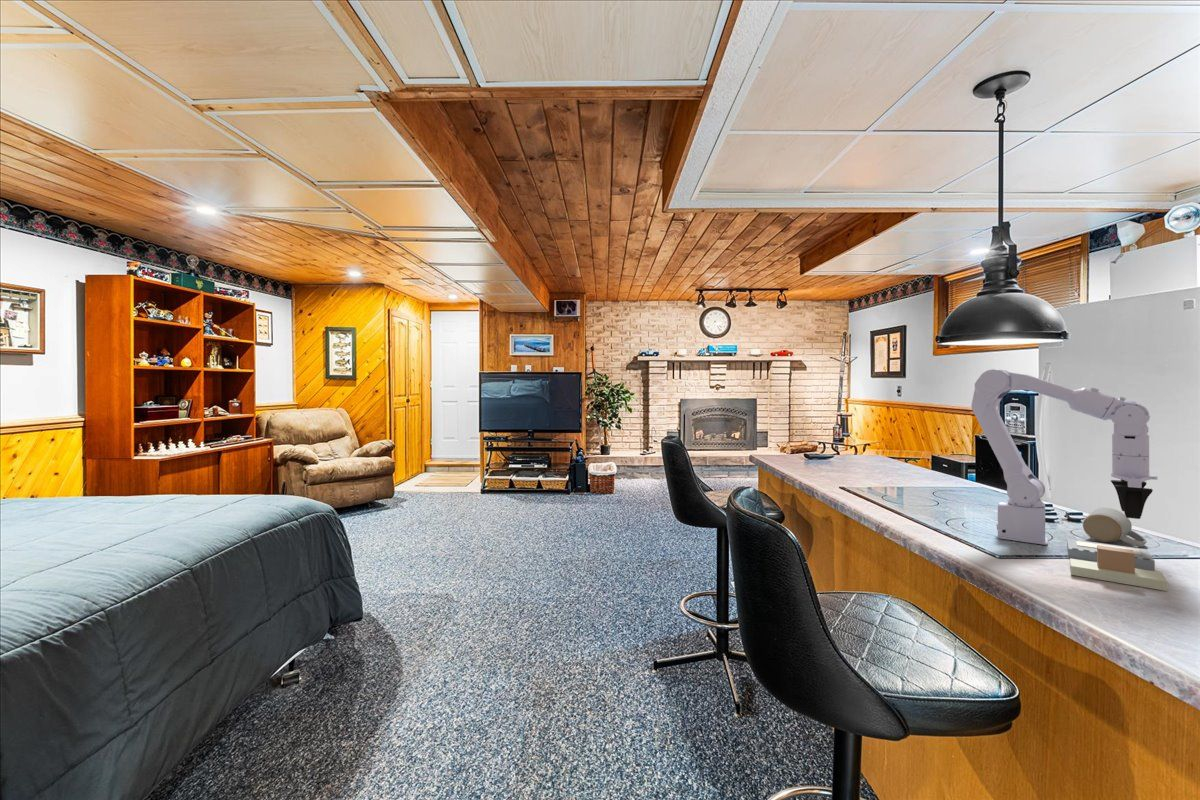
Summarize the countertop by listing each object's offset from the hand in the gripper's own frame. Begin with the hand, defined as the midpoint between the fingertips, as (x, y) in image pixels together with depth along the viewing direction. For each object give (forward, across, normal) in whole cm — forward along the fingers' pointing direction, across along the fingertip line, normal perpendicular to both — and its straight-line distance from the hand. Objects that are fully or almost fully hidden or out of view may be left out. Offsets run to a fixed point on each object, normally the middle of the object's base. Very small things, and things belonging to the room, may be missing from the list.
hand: (1130, 514), depth 111 cm
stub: (+9, -22, +4) cm, 24 cm away
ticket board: (+9, -5, +4) cm, 11 cm away
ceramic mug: (+10, +13, +2) cm, 17 cm away
